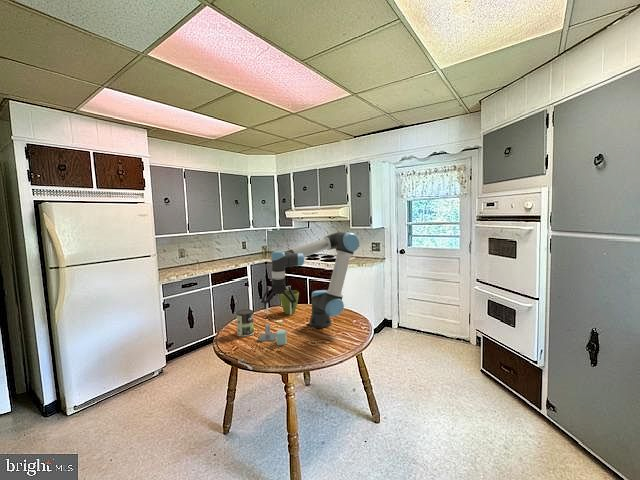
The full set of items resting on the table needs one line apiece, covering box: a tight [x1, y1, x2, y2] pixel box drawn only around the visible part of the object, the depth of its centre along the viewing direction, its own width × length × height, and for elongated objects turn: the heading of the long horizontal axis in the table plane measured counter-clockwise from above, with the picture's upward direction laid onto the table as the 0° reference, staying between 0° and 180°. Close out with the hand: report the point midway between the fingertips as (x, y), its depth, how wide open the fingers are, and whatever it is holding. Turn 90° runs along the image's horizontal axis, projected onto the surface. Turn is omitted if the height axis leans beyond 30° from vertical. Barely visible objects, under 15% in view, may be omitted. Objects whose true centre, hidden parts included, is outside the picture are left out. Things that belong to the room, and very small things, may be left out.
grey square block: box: [257, 323, 277, 342], centre depth 182 cm, size 10×10×8 cm
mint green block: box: [276, 329, 287, 346], centre depth 174 cm, size 5×5×7 cm
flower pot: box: [278, 289, 300, 315], centre depth 227 cm, size 15×15×16 cm
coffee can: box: [235, 308, 255, 337], centre depth 188 cm, size 10×10×14 cm
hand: (279, 314), depth 174 cm, fingers open, 13 cm apart
